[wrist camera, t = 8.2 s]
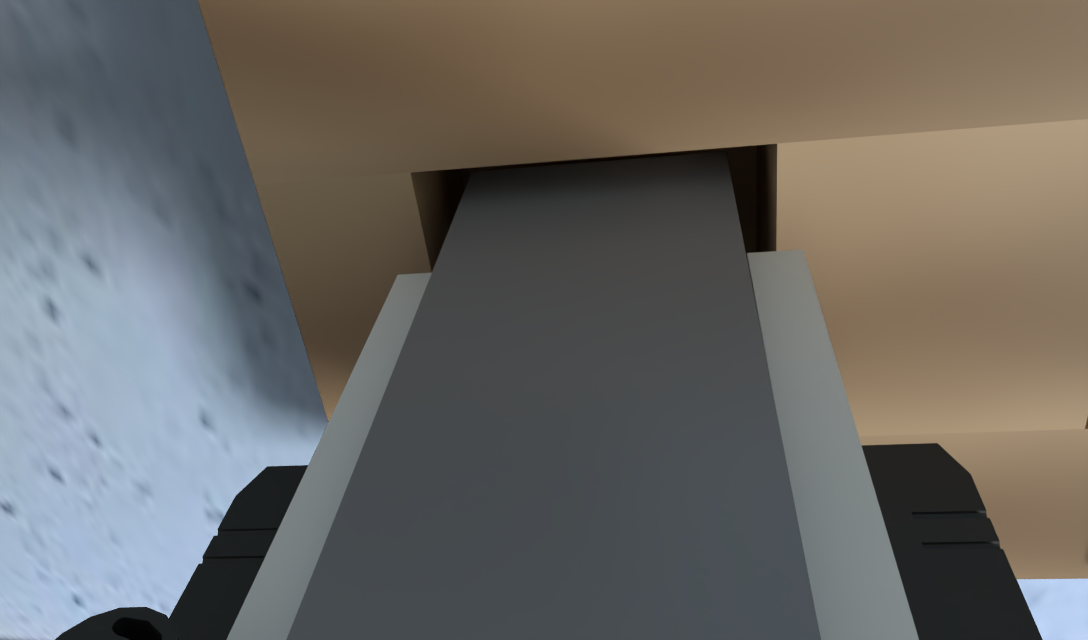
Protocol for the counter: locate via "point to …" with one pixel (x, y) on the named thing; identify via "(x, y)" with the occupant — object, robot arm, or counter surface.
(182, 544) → the counter surface
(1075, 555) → the socket block
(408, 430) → the plug
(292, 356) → the counter surface
